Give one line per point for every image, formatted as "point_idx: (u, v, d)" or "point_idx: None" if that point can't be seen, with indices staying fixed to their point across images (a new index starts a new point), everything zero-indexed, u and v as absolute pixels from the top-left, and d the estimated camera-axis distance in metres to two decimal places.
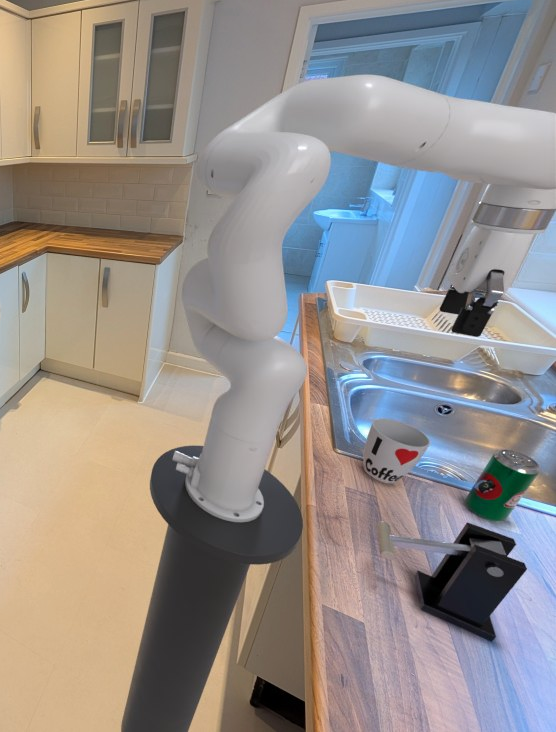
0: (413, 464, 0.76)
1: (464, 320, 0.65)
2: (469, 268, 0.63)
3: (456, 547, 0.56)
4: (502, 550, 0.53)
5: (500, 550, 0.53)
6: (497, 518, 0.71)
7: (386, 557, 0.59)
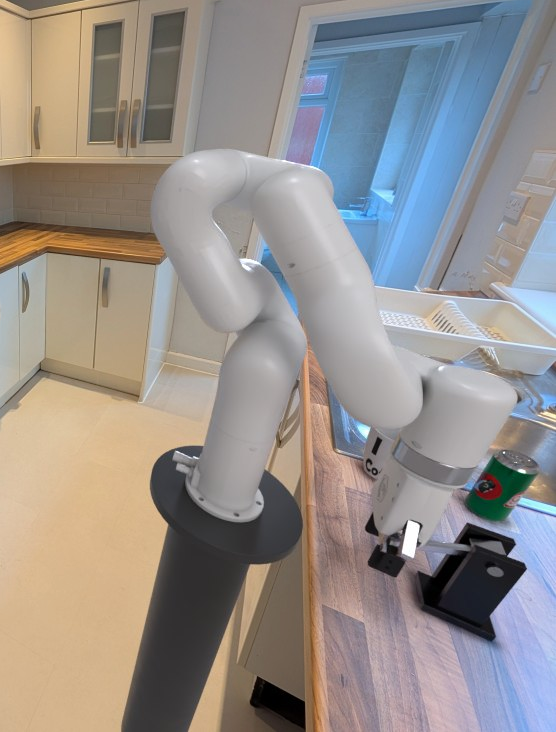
0: None
1: (380, 559, 0.59)
2: (386, 509, 0.56)
3: (456, 547, 0.56)
4: (502, 550, 0.53)
5: (500, 550, 0.53)
6: (497, 518, 0.71)
7: None
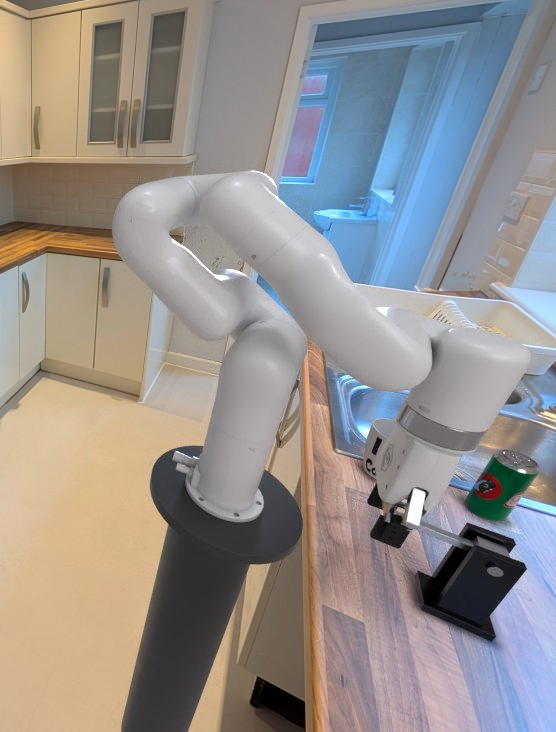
0: None
1: (383, 529, 0.57)
2: (391, 477, 0.54)
3: (460, 540, 0.56)
4: (508, 555, 0.53)
5: (506, 555, 0.53)
6: (497, 518, 0.71)
7: None
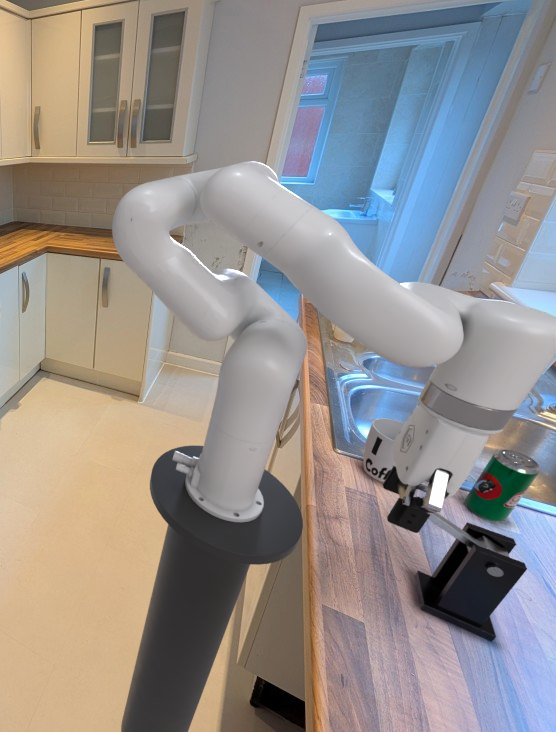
0: None
1: (401, 513, 0.55)
2: (413, 458, 0.52)
3: (468, 536, 0.55)
4: None
5: None
6: (497, 518, 0.71)
7: None
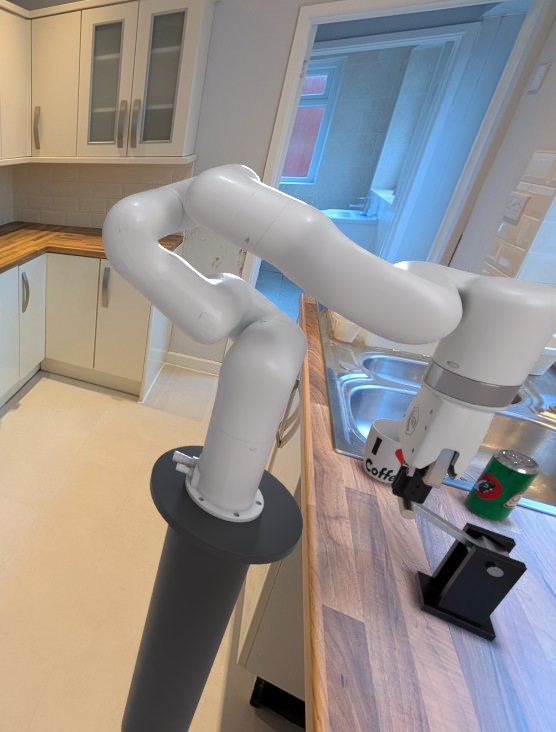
0: None
1: (405, 485, 0.56)
2: (418, 440, 0.51)
3: (467, 537, 0.55)
4: None
5: None
6: (497, 518, 0.71)
7: (404, 515, 0.56)
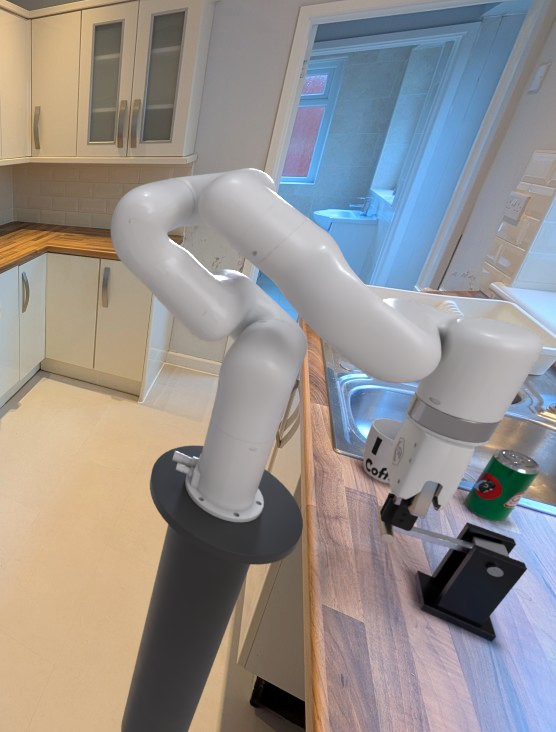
0: None
1: (393, 512, 0.58)
2: (403, 471, 0.53)
3: (458, 542, 0.56)
4: (506, 553, 0.53)
5: (504, 553, 0.53)
6: (497, 518, 0.71)
7: (385, 540, 0.58)
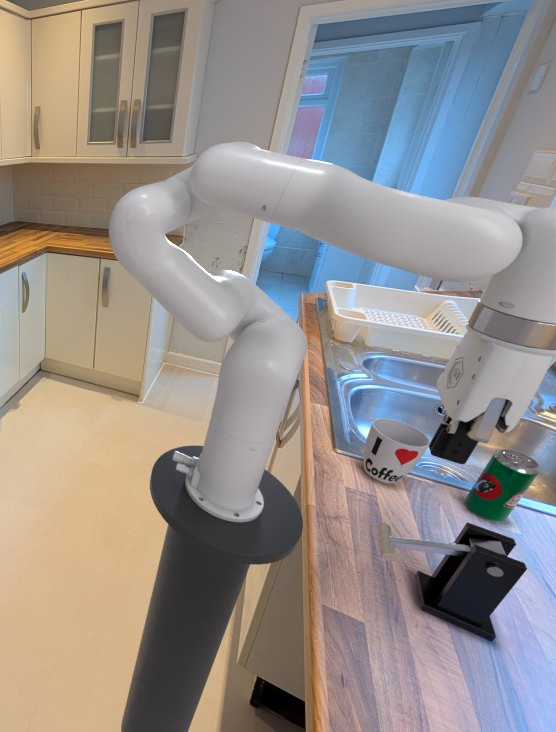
0: (413, 464, 0.76)
1: (446, 443, 0.52)
2: (464, 390, 0.47)
3: (456, 547, 0.56)
4: (502, 550, 0.53)
5: (500, 550, 0.53)
6: (497, 518, 0.71)
7: (386, 559, 0.59)
